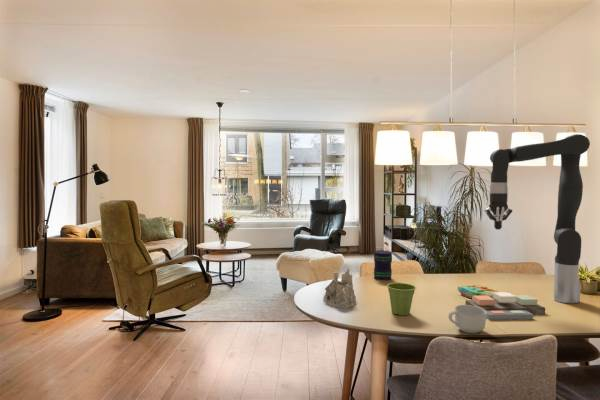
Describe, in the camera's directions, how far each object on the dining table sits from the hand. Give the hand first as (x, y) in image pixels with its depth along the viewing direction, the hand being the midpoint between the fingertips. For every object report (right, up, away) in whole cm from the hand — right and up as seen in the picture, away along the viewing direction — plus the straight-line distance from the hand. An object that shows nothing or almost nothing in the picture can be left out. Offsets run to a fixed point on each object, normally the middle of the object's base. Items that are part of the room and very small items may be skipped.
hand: (497, 229), depth 196 cm
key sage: (+3, -30, -19) cm, 35 cm away
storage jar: (-46, -31, +39) cm, 68 cm away
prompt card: (-10, -33, -29) cm, 45 cm away
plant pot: (-51, -33, -24) cm, 65 cm away
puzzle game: (-8, -33, -2) cm, 34 cm away
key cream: (-6, -29, -19) cm, 35 cm away
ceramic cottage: (-75, -33, -8) cm, 83 cm away
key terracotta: (-15, -30, -19) cm, 39 cm away
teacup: (-32, -34, -44) cm, 64 cm away
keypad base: (-6, -33, -19) cm, 38 cm away
